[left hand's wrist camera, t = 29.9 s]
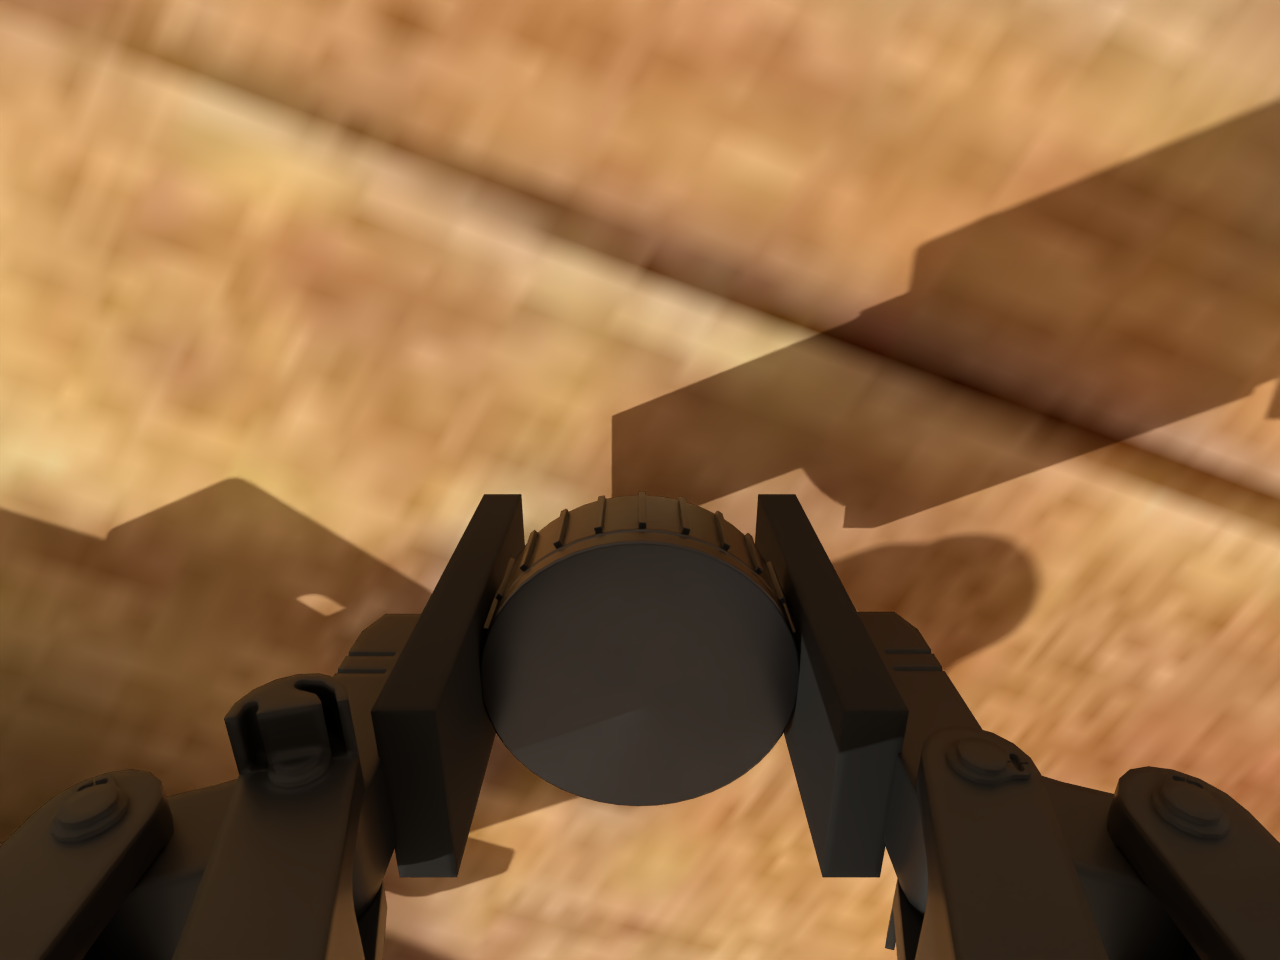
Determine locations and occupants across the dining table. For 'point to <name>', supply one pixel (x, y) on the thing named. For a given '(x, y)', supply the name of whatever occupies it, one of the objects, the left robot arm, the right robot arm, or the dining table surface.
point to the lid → (639, 652)
